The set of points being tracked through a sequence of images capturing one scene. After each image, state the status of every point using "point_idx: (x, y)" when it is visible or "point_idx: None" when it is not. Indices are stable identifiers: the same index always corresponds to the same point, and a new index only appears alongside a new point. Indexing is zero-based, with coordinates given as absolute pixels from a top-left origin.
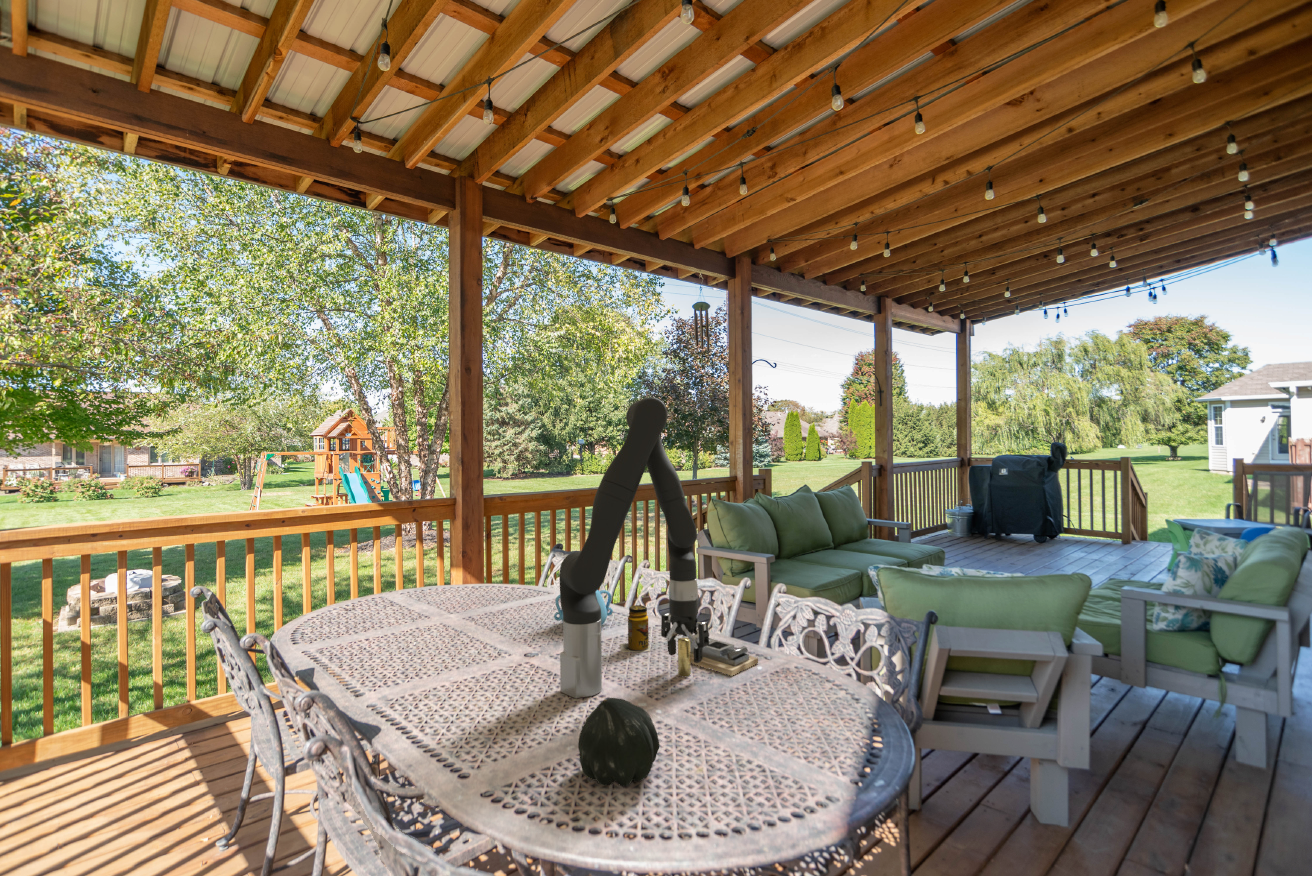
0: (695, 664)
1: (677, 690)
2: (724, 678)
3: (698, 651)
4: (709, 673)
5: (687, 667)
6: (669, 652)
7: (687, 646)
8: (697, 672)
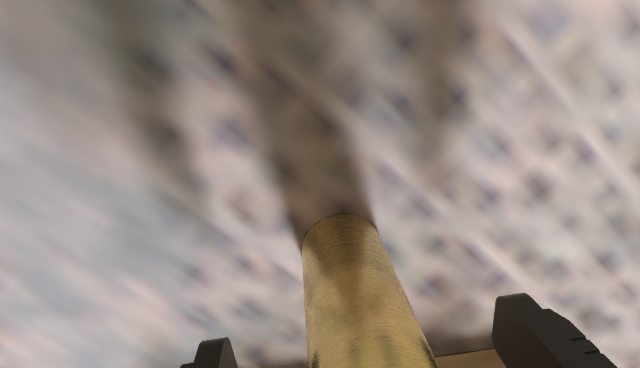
0: None
1: (138, 21)
2: (143, 364)
3: None
4: (253, 350)
5: (304, 280)
6: (529, 306)
7: None
8: None
